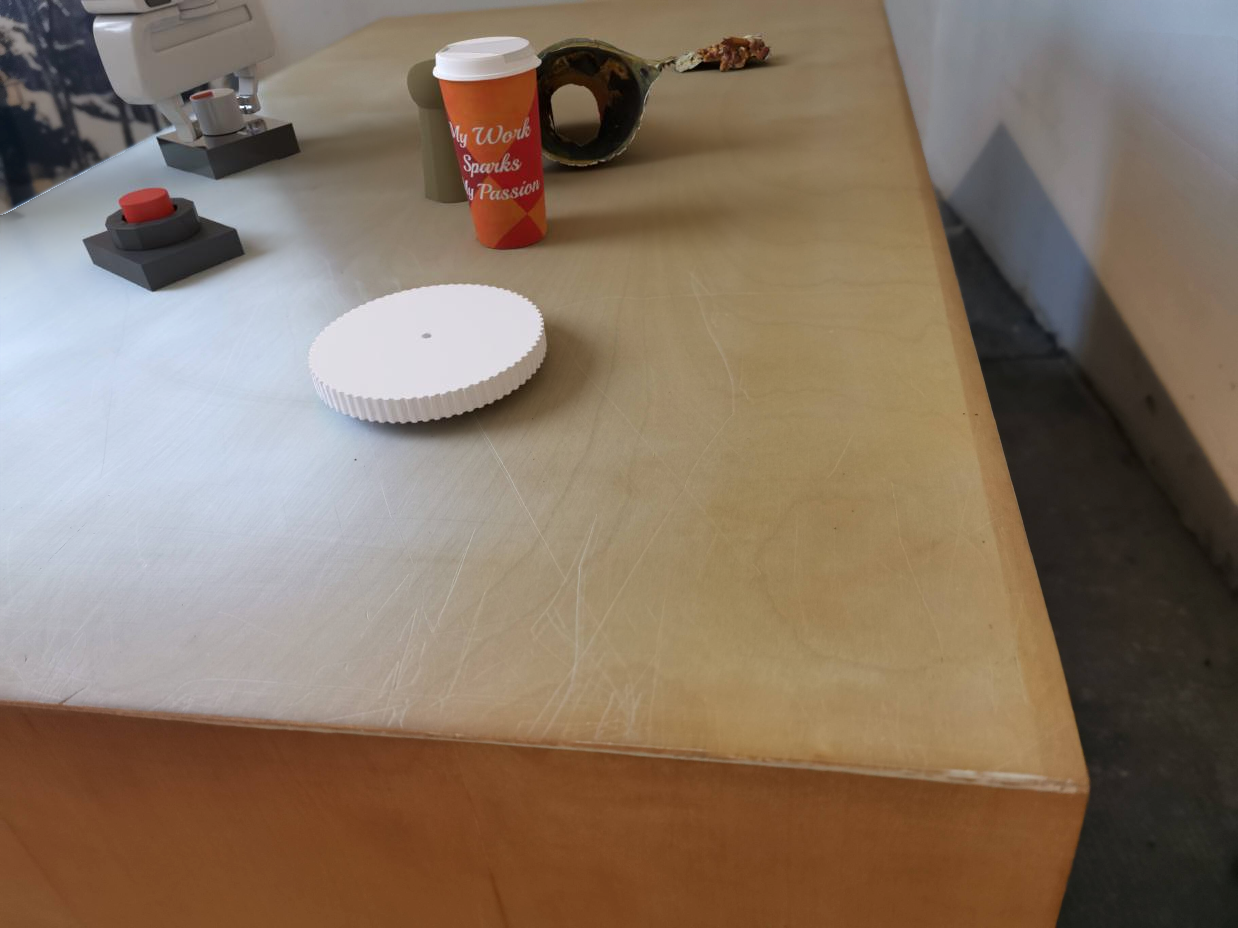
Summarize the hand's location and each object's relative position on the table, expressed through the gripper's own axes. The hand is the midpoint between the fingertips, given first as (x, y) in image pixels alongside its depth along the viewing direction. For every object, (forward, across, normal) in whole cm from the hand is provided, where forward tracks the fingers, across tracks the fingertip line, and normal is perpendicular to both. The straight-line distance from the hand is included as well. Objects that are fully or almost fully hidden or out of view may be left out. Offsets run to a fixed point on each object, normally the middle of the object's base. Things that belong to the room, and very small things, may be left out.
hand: (222, 126), depth 90 cm
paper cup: (+4, +15, +39) cm, 42 cm away
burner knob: (0, 0, 0) cm, 0 cm away
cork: (+4, +6, +30) cm, 31 cm away
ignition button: (0, +24, +12) cm, 27 cm away
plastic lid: (+4, +35, +43) cm, 56 cm away
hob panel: (+3, 0, 0) cm, 3 cm away
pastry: (+4, -40, +44) cm, 60 cm away
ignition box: (+3, +24, +12) cm, 27 cm away
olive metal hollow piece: (+4, -6, +38) cm, 39 cm away
